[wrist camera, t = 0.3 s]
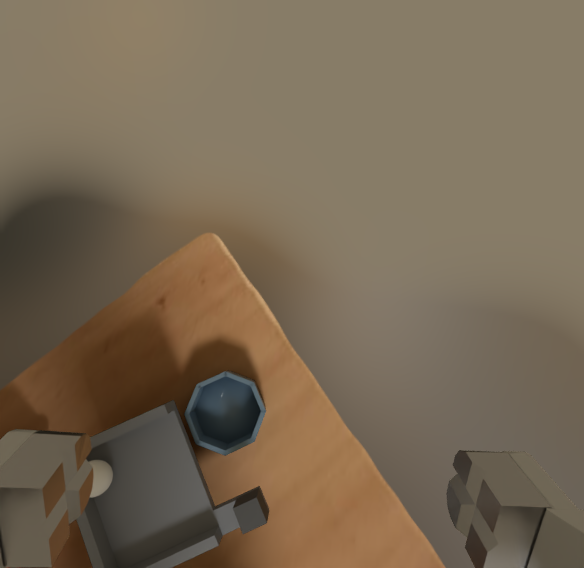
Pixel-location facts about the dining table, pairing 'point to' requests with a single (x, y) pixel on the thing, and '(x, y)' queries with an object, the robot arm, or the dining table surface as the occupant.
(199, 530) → the lever board
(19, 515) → the robot arm
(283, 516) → the dining table surface
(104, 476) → the ball
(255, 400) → the cup
